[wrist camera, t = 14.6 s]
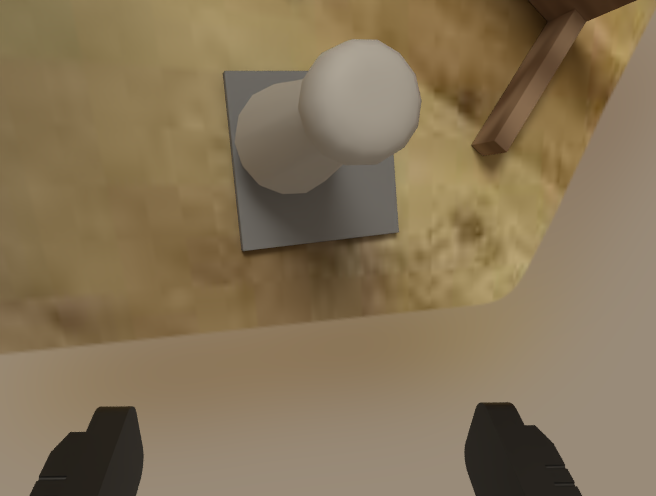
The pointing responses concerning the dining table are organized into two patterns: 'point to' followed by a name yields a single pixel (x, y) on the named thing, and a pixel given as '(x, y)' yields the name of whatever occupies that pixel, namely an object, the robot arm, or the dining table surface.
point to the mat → (317, 204)
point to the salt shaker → (329, 117)
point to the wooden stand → (538, 68)
